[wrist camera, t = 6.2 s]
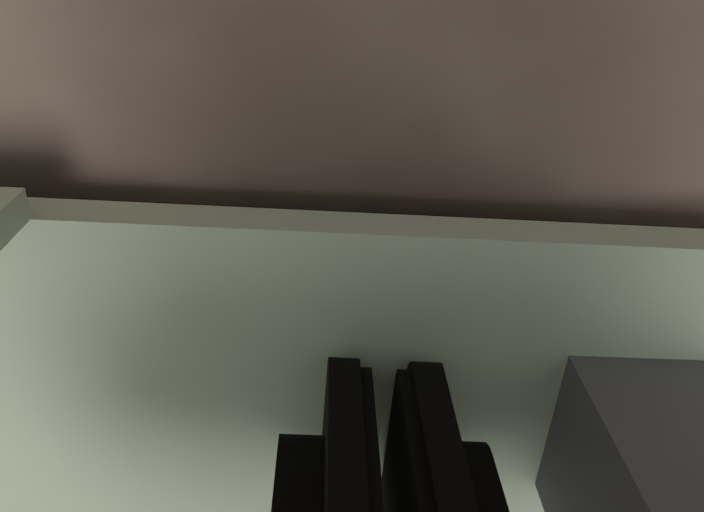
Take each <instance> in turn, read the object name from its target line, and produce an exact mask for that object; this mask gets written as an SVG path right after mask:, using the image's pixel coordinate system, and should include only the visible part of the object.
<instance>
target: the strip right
mask: <svg viewBox="0 0 704 512" xmlns="http://www.w3.org/2000/svg"><path fill="white" fill-rule="evenodd" d="M328 357H341V358H359V359H360V366H361V367H371V368H372V373H373V384H374V396H375V407H376V419H377V430H378V442H379V453H380V465H381V476H382V471H383V464H384V457H385V449H386V442H387V434H388V427H389V420H390V412H391V405H392V397H393V390H394V383H395V375H396V371H397V369H407V367H408V364H409V362H410V361H420V362H441V363H442V364H443V367H444V371H445V375H446V379H447V383H448V387H449V391H450V395H451V399H452V403H453V407H454V411H455V415H456V419H457V423H458V427H459V431H460V435H461V439H462V441H472V442H486V443H487V444H488V445H489V446H490V449H491V451H492V454H493V458H494V461H495V464H496V468H497V471H498V474H499V478H500V481H501V484H502V488H503V491H504V494H505V498H506V501H507V505H508V508H509V511H510V512H704V229H700V228H678V227H657V226H636V225H614V224H593V223H571V222H550V221H529V220H507V219H486V218H464V217H443V216H422V215H400V214H379V213H357V212H336V211H315V210H293V209H272V208H250V207H229V206H208V205H186V204H165V203H143V202H122V201H101V200H79V199H58V198H36V197H27V195H26V190H25V188H18V187H0V512H271V506H272V497H273V487H274V477H275V467H276V457H277V447H278V438H279V434H303V435H322V429H323V416H324V402H325V389H326V376H327V363H328Z"/></svg>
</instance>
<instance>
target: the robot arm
mask: <svg viewBox="0 0 704 512" xmlns="http://www.w3.org/2000/svg"><path fill="white" fill-rule="evenodd" d="M271 512H510V511H509V508H508V505H507V501H506V498H505V494H504V491H503V488H502V484H501V481H500V478H499V474H498V471H497V468H496V464H495V461H494V458H493V454H492V451H491V449H490V446H489V445H488V444H487V443H486V442H472V441H462V439H461V435H460V431H459V427H458V423H457V419H456V415H455V411H454V407H453V403H452V399H451V395H450V391H449V387H448V383H447V379H446V375H445V371H444V367H443V364H442V363H441V362H420V361H410V362H409V364H408V367H407V369H397V371H396V375H395V383H394V390H393V397H392V405H391V412H390V420H389V427H388V434H387V442H386V449H385V457H384V464H383V471H382V476H381V465H380V453H379V442H378V430H377V419H376V407H375V396H374V384H373V373H372V368H371V367H361V366H360V359H359V358H341V357H328V363H327V376H326V389H325V402H324V416H323V429H322V435H303V434H279V438H278V447H277V457H276V467H275V477H274V487H273V497H272V506H271Z"/></svg>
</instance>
